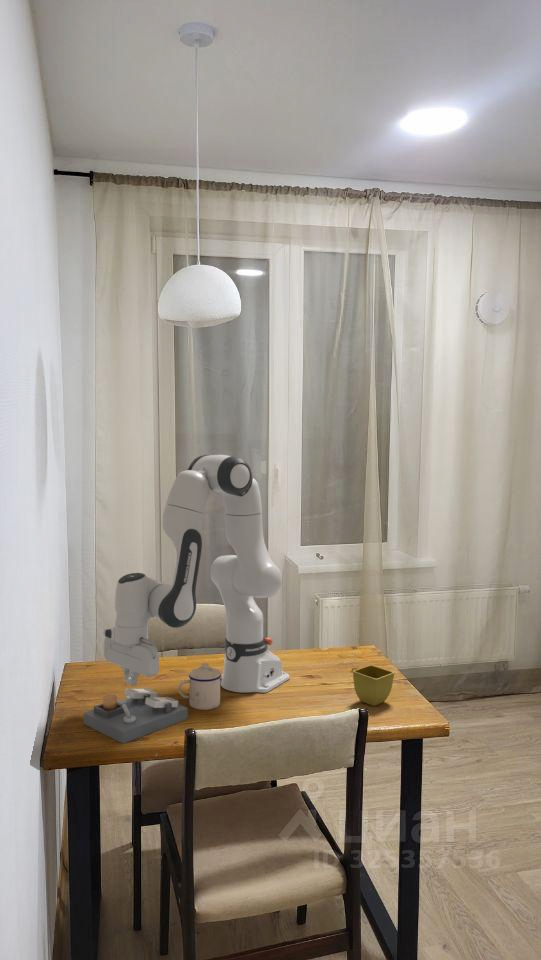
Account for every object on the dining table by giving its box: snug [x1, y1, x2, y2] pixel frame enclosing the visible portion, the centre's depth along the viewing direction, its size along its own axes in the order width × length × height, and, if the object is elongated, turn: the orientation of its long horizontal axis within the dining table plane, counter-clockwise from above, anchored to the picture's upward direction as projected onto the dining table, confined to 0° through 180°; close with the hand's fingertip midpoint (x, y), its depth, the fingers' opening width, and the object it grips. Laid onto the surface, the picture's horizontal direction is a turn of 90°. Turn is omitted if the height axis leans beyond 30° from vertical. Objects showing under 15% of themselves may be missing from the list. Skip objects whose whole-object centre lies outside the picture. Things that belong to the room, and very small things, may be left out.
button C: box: [102, 694, 118, 709], centre depth 191 cm, size 4×4×2 cm
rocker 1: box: [124, 688, 158, 699], centre depth 200 cm, size 8×4×2 cm, turn 138°
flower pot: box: [352, 664, 395, 707], centre depth 209 cm, size 9×9×9 cm
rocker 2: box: [145, 696, 179, 708], centre depth 194 cm, size 8×4×2 cm, turn 138°
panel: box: [83, 694, 188, 744], centre depth 193 cm, size 21×18×8 cm
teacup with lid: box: [178, 662, 222, 711], centre depth 205 cm, size 12×9×12 cm
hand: (130, 684), depth 197 cm, fingers closed
